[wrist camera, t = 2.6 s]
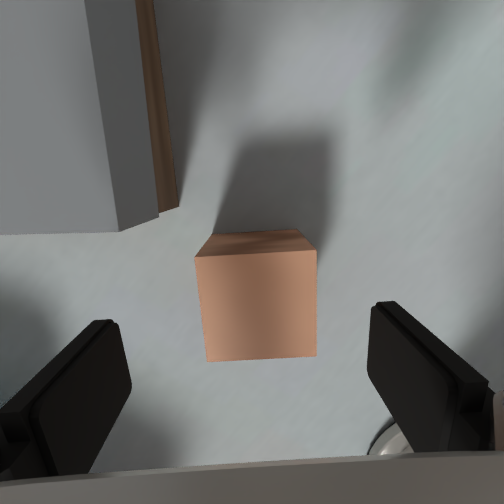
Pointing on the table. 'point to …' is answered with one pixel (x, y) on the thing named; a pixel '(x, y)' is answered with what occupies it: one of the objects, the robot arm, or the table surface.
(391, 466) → the robot arm
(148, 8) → the tower bottom
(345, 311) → the table surface
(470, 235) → the table surface
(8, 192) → the tower top
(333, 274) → the table surface
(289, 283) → the stack block
